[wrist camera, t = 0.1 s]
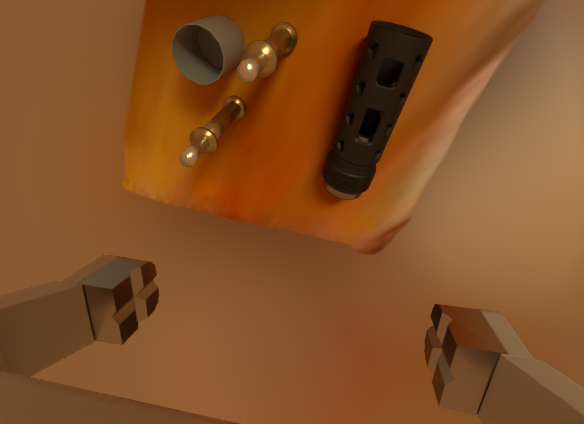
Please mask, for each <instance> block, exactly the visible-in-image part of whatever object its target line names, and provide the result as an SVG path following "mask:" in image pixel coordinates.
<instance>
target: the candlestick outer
mask: <svg viewBox="0 0 584 424" xmlns="http://www.w3.org/2000/svg"><path fill="white" fill-rule="evenodd" d="M245 112H246V106H245V103H244V101H243V100H242V99H241V98H239V97H237V96H229V97H228V98H227V99H226V100H225V101H224V102H223V108H222V109H221V110H220V111H219V112H218V113H217V114H216V115H215V116H214V117H213V118H212V119H211V120H210V121H209V122H208V123H207V124H206V125H205V126H204V127H199V128H196V129H195V130H194V131H193V132H192V133H191V135H190V142H191V144H190V145H189V146H188V148H187V149H186V150H185V151H184V152H183V153H182V154H181V155H180V156H179V160H180V162H181V164H182V165H184V166H186V167H191V166H193V165H194V163H195V162H196V161H197V160H198V159H199V158H200V156H201V155H202V154H211V153H213V152H214V151H215V150H216V149H217V146H218V139H219V138H220V137H221V136H222V134H223V133H224V132H225V131H226V130H227V129H228V127H229V126H230V125H231V124H232V123H233V121H234V120H238V119H240V118H242V116H243V115H244V114H245Z"/></svg>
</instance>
